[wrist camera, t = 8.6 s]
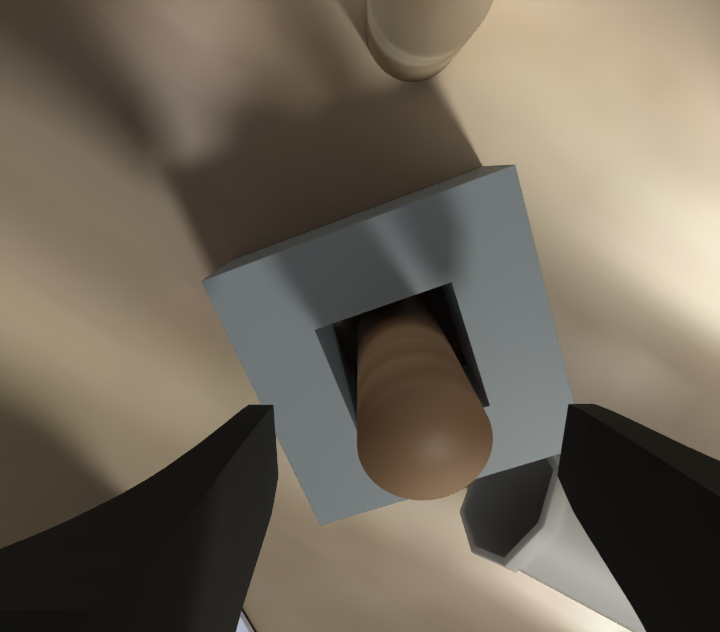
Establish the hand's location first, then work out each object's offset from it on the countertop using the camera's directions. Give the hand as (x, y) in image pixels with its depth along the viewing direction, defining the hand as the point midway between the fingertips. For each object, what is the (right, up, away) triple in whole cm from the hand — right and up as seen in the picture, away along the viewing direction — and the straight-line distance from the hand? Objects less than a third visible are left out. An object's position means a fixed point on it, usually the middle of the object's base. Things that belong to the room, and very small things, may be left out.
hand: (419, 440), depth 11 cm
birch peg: (0, +13, +4) cm, 13 cm away
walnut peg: (0, +3, +7) cm, 8 cm away
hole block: (0, +2, +7) cm, 8 cm away
